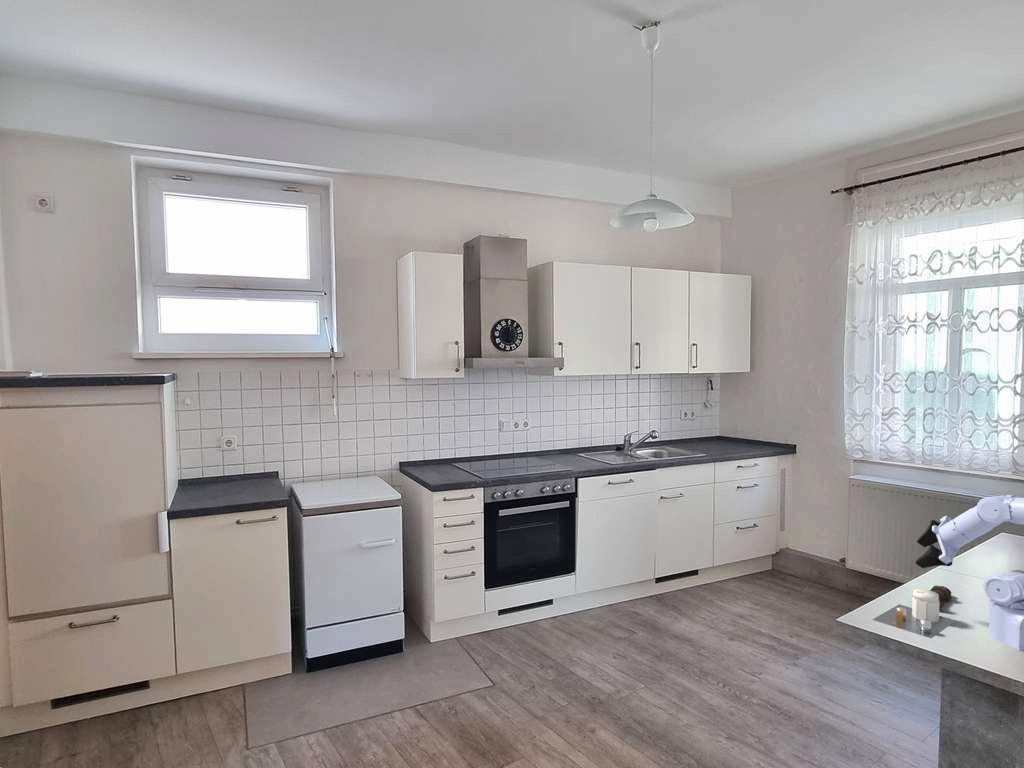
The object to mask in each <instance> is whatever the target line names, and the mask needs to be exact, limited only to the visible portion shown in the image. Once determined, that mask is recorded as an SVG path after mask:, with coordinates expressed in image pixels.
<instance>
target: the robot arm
mask: <svg viewBox="0 0 1024 768" xmlns="http://www.w3.org/2000/svg"><path fill="white" fill-rule="evenodd" d="M939 521H940V522H939ZM939 521H937V520H935V519H931V520H930V522H929V525H928V526H927V528H926V530H925V531H924V532H922V533H923V534H921V536H919V538H918V539H917V540H916V543H917V544H919V545H920V546H921V547H923V548H926V547H928V549H927V550H926V552H925V553H924V554H922V555H921V556H919V557H918V558H917V559H916V560H915V565H917V566H919V567H920V568H922V569H927V568H931V567H939V566H941V567H942V566H943V567H950V566H952V565H953V561H954V558H955V556H956V554H957V553H958V552H959V551H960V549H961V548H962V547H963V546H965V545H967V544H969V543H971V542H972V541H974V540H976V539H977V538H980V537H981V536H983V535H985V534H987V533H989V532H990V531H992V530H993V529H994V528H996V527H998V526H999V525H1001V524H1003V523H1004V522H1006V523H1007V522H1010V523H1012V524H1016V525H1024V497H1015V495H1014V494H1006V495H994V496H987V497H983V498H981V499H980V500H979V501H978V502H977V504H976V505H975V506H974V507H971V508H969V509H968V510H966V511H964V512H963V513H961V514H959V515H958V516H956V517H955V518H953V519H952V518H951V517H949V516H948V515H945V516H943V517H942V518H940V520H939ZM936 543H939V547H940V549H939V548H937V547H936V546H935V545H934V544H936ZM982 583H983V584H982V587H983V591H984V593H985V595H986V596H987V597H988V598H989V617H988V619H989V622H988V624H989V625H988V627H989V628H988V635H989V637H991V638H993V640H996V641H999V642H1000V643H1003V644H1005V645H1007V646H1010V647H1011V648H1013V649H1015V650H1018V651H1024V570H1021V569H1015V570H1012V571H1008V572H1005V573H999V574H990V575H988V576H987V577H985V579H984V581H983V582H982Z"/></svg>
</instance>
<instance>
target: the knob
mask: <svg viewBox="0 0 1024 768" xmlns="http://www.w3.org/2000/svg"><path fill="white" fill-rule="evenodd" d="M930 590H931V589H924V588H915V589H913V591H912V592H913V593H912V595H913V596H912V598H911V600H912V601H911V608H912V615H913V616H914V617H915V618H917V619H927V620H930V621H931V622H937V621H938V620H939V616H940V611H939V594H937V593H936V592H933V591H930Z"/></svg>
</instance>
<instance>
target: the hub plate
mask: <svg viewBox="0 0 1024 768" xmlns="http://www.w3.org/2000/svg"><path fill="white" fill-rule="evenodd" d="M871 620H872V621H875V622H878V623H881V624H884V625H888V626H891V627H894V628H897V629H901V630H903V631H906V632H910V633H913V634H916V635H920V636H922V637H925V638H929V639H932V638H934V637H936V635H938V634H940V633H941V632H942V631H944V630H945V629H946V628H947V627H949V626H951V625H952V624H953V623H955V622H957V620H955V619H952V618H948V617H945V616H941V615H939V620H938V621H937V622H931V621H930V620H927V619H917V618H915V617H914V616H913V615H912V607H910V606H906V605H902V604H901V603H900V604H897V605H896V606H894V607H892V608H890V609H888V610H887V611H885V612H883V613H881V614H879V615H878V616H875V617H874V618H872V619H871Z"/></svg>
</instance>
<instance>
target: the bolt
mask: <svg viewBox="0 0 1024 768" xmlns="http://www.w3.org/2000/svg"><path fill="white" fill-rule="evenodd" d="M929 590H930V591H933V592H936V593H937V594H939V612H940V611H941V610H942V609H943V608H944V607H945V606H944V602H946V603H949V602H950V601H951V600H952V598H953V596H952V591H951V590H950V589H949V588H948V587H946V586H944V585H933V586H932V587H931V589H929Z"/></svg>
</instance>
